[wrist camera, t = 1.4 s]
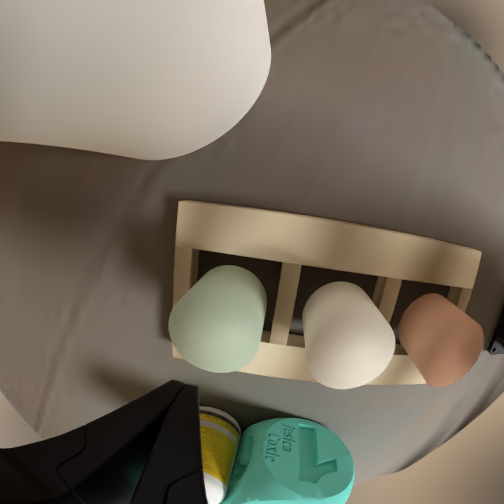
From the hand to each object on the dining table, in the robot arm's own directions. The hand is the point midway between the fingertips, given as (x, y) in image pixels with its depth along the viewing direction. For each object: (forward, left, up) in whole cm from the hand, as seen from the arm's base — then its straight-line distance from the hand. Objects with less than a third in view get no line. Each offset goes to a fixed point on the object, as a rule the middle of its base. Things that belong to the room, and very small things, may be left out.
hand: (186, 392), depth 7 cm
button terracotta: (-12, 0, -8) cm, 14 cm away
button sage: (0, 0, -8) cm, 8 cm away
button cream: (-6, 0, -8) cm, 10 cm away
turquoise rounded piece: (-6, +14, -10) cm, 18 cm away
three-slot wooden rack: (-6, 0, -10) cm, 11 cm away
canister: (+7, -14, -10) cm, 18 cm away
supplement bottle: (+1, +13, -10) cm, 16 cm away
